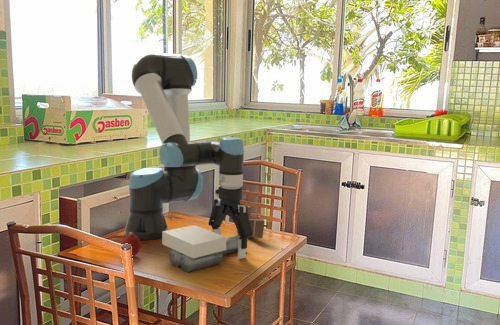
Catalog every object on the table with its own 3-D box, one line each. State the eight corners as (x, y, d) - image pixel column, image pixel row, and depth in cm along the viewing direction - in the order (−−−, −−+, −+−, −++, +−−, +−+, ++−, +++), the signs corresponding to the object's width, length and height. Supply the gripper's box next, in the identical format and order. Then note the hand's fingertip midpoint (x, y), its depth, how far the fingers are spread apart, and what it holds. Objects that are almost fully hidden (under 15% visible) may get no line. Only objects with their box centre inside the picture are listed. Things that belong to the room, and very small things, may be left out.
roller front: (179, 269, 141) (180, 253, 140) (212, 260, 149) (212, 245, 148) (189, 274, 137) (190, 257, 136) (222, 265, 145) (222, 249, 144)
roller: (209, 258, 153) (205, 243, 154) (238, 251, 161) (234, 236, 162) (218, 255, 149) (214, 240, 150) (247, 248, 158) (243, 233, 158)
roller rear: (167, 252, 145) (175, 248, 141) (199, 244, 153) (208, 240, 149) (172, 268, 144) (180, 264, 140) (204, 260, 152) (213, 256, 148)
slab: (162, 244, 147) (162, 231, 146) (194, 237, 155) (194, 225, 154) (193, 258, 135) (193, 244, 135) (226, 249, 143) (226, 236, 143)
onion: (133, 252, 153) (133, 228, 152) (144, 257, 150) (144, 232, 149) (117, 257, 149) (117, 232, 148) (129, 261, 145) (129, 236, 144)
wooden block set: (267, 243, 168) (270, 214, 167) (243, 242, 166) (246, 212, 165) (255, 229, 185) (258, 203, 184) (233, 228, 183) (236, 201, 182)
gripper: (198, 181, 158) (197, 245, 161) (247, 194, 141) (245, 265, 144) (216, 179, 163) (214, 241, 166) (265, 191, 146) (263, 260, 149)
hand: (229, 252), depth 155 cm, fingers open, 12 cm apart
